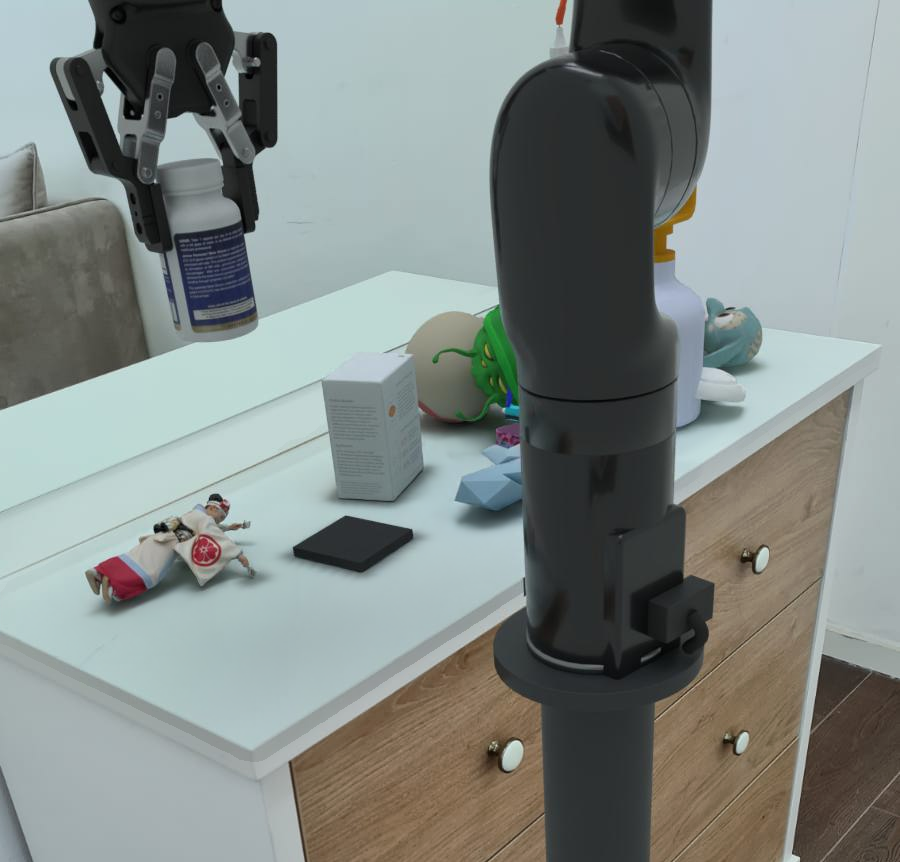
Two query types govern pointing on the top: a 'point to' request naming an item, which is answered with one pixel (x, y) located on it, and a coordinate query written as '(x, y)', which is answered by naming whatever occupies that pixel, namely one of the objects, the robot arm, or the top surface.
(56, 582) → the top surface
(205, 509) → the figurine
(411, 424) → the small box
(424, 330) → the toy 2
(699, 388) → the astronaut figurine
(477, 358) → the figurine
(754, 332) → the stuffed animal
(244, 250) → the pill bottle
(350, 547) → the pad
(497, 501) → the polygonal blue rock
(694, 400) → the soap bottle
